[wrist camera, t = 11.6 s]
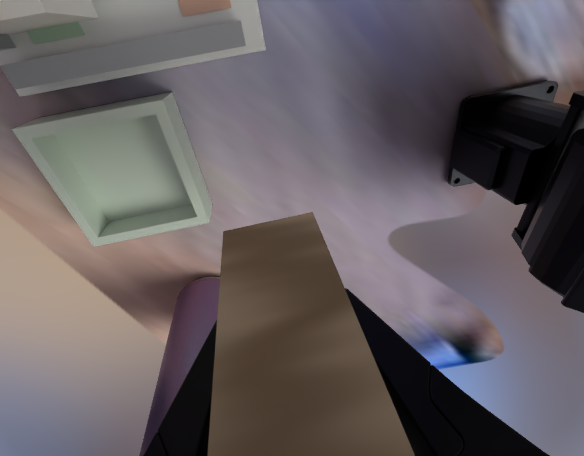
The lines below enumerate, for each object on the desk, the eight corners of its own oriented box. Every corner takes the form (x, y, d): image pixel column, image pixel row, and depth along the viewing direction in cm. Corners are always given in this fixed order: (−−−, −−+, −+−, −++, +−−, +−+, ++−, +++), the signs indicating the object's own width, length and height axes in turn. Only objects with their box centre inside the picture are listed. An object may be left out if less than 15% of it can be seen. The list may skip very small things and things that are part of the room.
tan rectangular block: (312, 212, 11) (539, 753, 3) (321, 276, 13) (468, 705, 5) (223, 231, 11) (177, 863, 3) (245, 293, 13) (261, 765, 5)
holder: (172, 91, 17) (162, 99, 15) (212, 204, 21) (209, 222, 19) (39, 117, 17) (11, 129, 14) (108, 225, 21) (93, 246, 19)
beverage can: (170, 277, 24) (96, 529, 12) (242, 268, 25) (242, 500, 13) (187, 323, 28) (143, 557, 15) (250, 314, 28) (257, 533, 16)
